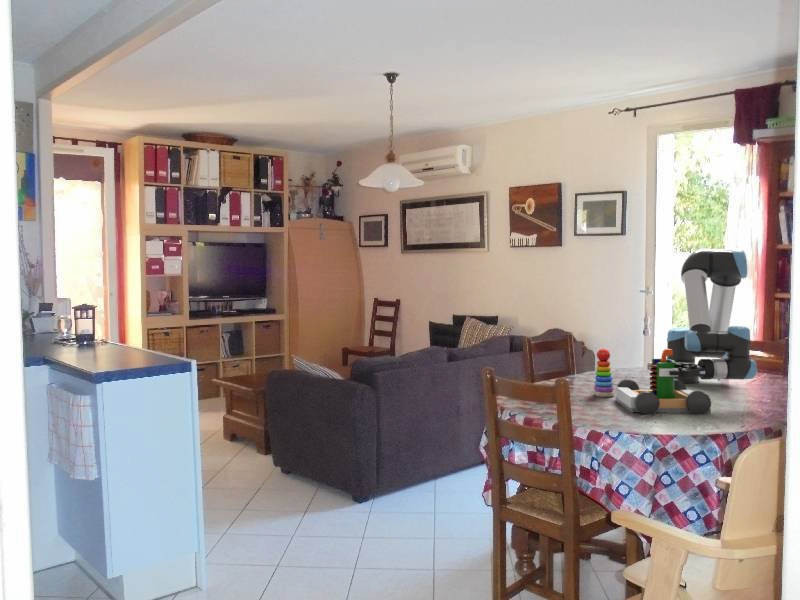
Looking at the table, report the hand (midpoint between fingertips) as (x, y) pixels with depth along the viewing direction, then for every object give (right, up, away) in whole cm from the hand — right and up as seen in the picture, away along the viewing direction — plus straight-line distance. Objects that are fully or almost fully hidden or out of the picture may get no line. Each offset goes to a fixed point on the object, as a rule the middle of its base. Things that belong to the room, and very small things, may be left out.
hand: (653, 369), depth 264 cm
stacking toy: (-12, -13, +21) cm, 28 cm away
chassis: (+3, -14, +1) cm, 14 cm away
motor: (+3, -13, +1) cm, 13 cm away
